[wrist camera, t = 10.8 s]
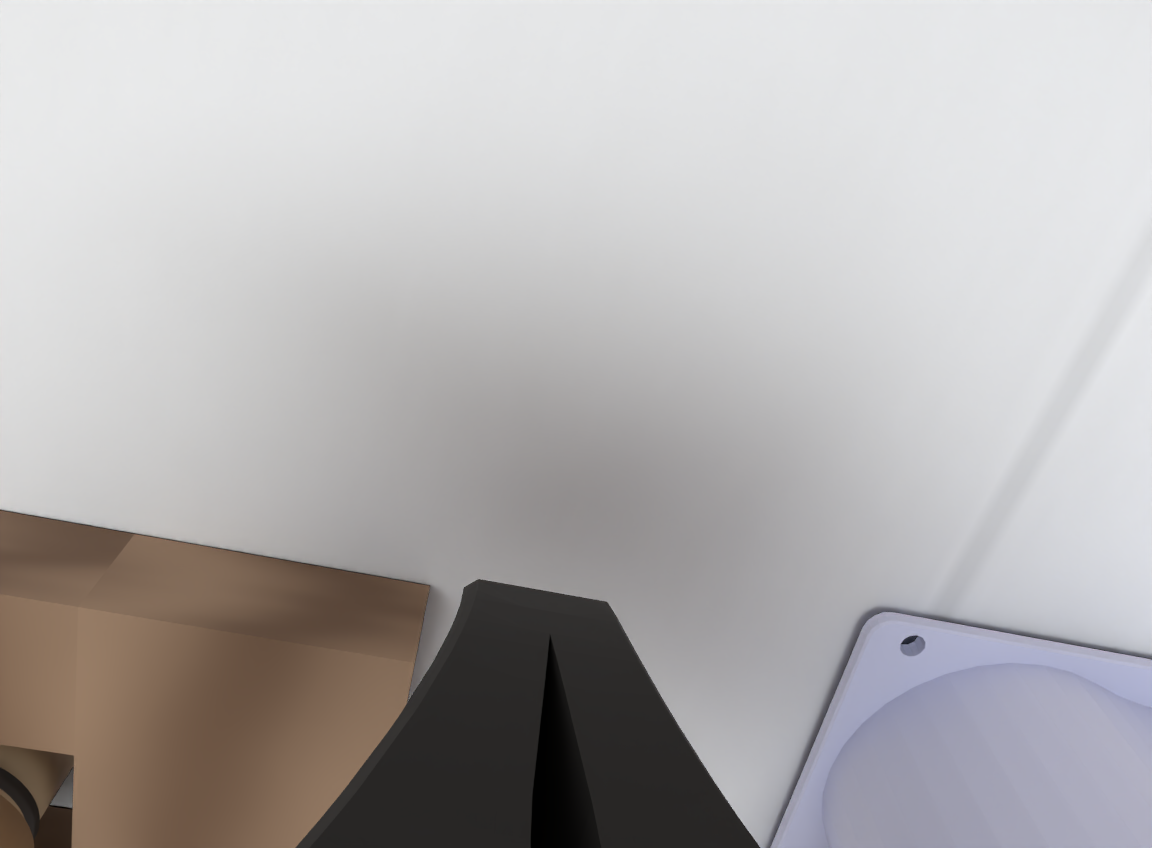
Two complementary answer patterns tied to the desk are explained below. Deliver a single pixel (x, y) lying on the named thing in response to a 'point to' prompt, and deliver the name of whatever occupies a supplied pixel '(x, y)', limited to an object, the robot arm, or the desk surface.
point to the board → (194, 683)
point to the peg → (27, 791)
